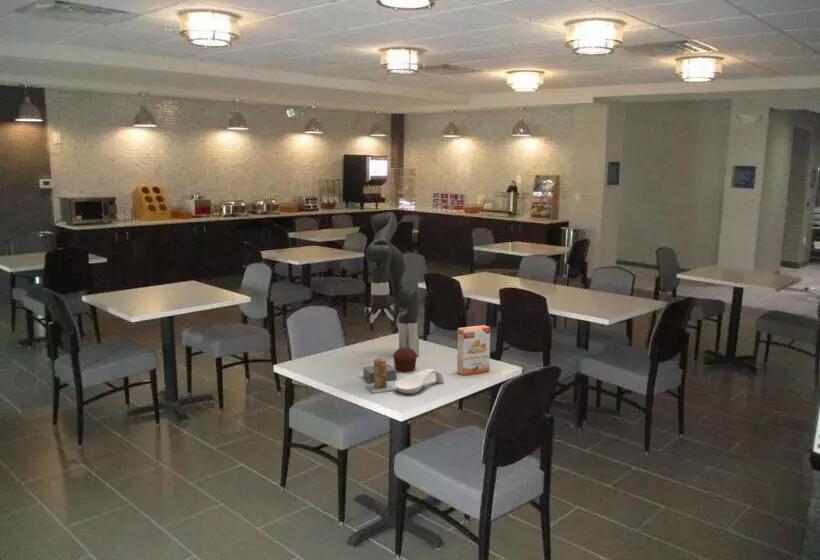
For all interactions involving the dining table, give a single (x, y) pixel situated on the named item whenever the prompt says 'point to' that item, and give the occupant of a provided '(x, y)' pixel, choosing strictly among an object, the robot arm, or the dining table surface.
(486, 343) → the cracker box
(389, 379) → the block
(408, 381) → the spoon rest
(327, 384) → the dining table surface
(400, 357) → the muffin
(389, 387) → the rubber mat
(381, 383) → the walnut plug
